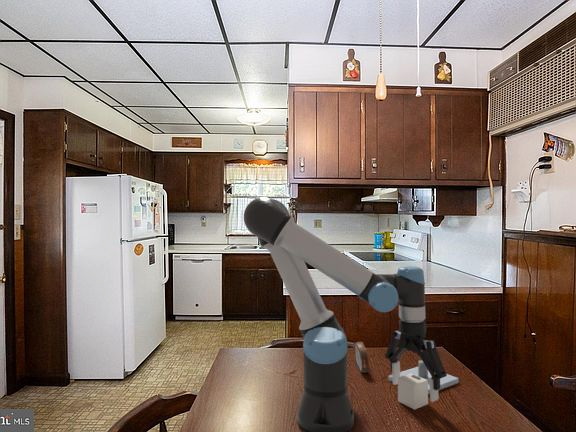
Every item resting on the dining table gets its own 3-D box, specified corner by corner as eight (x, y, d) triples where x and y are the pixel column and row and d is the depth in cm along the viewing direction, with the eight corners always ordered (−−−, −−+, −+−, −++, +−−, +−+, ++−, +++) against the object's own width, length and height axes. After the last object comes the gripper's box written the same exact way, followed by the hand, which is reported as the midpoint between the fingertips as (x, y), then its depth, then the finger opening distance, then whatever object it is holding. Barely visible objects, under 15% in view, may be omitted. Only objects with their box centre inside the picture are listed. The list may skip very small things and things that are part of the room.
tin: (369, 376, 131) (369, 352, 131) (360, 376, 131) (360, 352, 131) (362, 360, 146) (362, 338, 146) (354, 360, 146) (354, 338, 146)
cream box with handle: (414, 409, 107) (414, 383, 108) (397, 401, 112) (397, 376, 113) (427, 404, 111) (427, 379, 111) (411, 396, 116) (411, 372, 116)
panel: (423, 396, 116) (423, 374, 116) (388, 380, 127) (388, 360, 127) (458, 382, 125) (458, 363, 125) (423, 369, 137) (422, 351, 137)
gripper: (458, 326, 103) (461, 404, 103) (389, 310, 124) (391, 374, 124) (441, 331, 99) (443, 412, 99) (372, 313, 120) (374, 380, 120)
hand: (414, 391), depth 111 cm, fingers open, 13 cm apart
